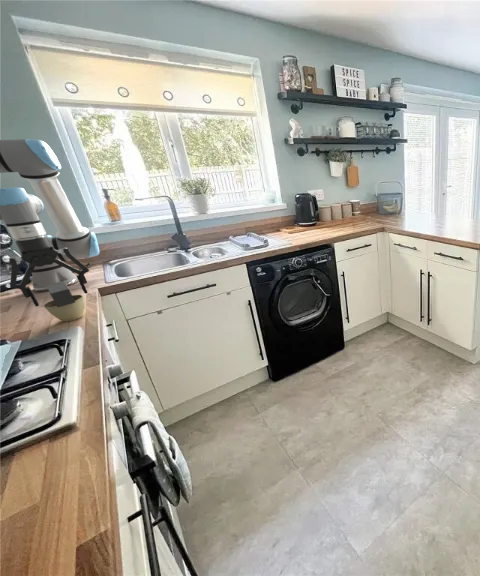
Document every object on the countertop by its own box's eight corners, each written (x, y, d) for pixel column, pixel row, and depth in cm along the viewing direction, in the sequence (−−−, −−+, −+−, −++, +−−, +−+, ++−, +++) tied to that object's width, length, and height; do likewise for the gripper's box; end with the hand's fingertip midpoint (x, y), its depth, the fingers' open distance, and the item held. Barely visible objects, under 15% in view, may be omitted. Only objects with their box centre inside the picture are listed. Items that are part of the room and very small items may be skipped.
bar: (53, 298, 111) (46, 285, 109) (70, 293, 114) (63, 281, 112) (57, 307, 102) (50, 293, 100) (75, 302, 105) (68, 289, 104)
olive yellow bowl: (53, 319, 111) (44, 301, 108) (90, 309, 117) (81, 292, 115) (53, 328, 104) (42, 309, 102) (91, 317, 111) (83, 299, 108)
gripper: (-28, 248, 89) (12, 314, 97) (82, 231, 106) (108, 289, 114) (-27, 245, 94) (11, 309, 102) (78, 229, 110) (104, 285, 119)
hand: (62, 298), depth 108 cm, fingers open, 12 cm apart
